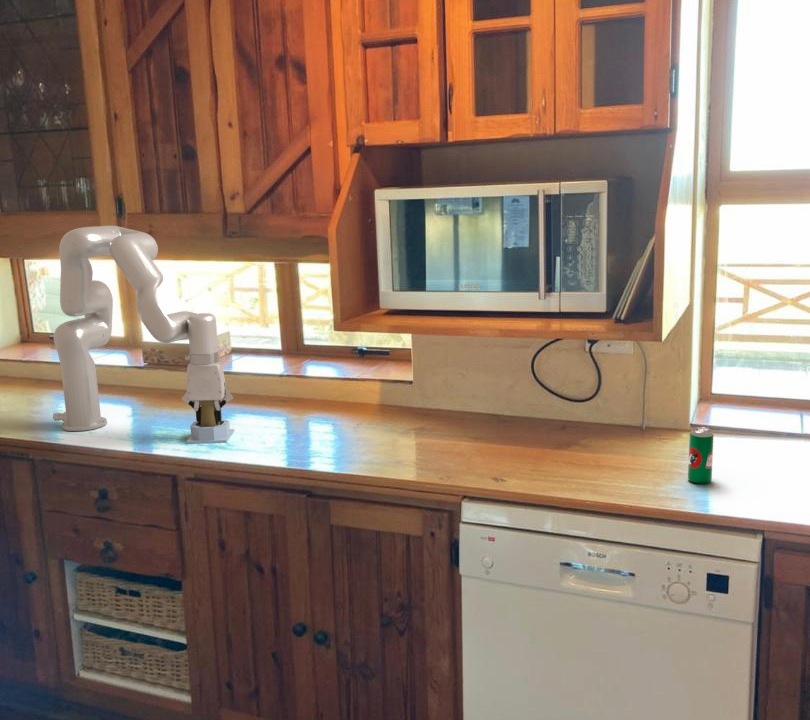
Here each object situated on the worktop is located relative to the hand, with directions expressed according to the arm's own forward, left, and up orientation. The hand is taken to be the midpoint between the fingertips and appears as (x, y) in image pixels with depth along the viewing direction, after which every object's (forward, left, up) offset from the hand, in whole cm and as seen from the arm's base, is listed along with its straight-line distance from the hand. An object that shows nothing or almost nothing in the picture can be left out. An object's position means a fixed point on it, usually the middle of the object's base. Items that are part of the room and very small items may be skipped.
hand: (209, 422), depth 238 cm
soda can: (+120, -47, -4) cm, 129 cm away
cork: (0, 0, -3) cm, 3 cm away
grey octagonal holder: (0, 0, -4) cm, 4 cm away
